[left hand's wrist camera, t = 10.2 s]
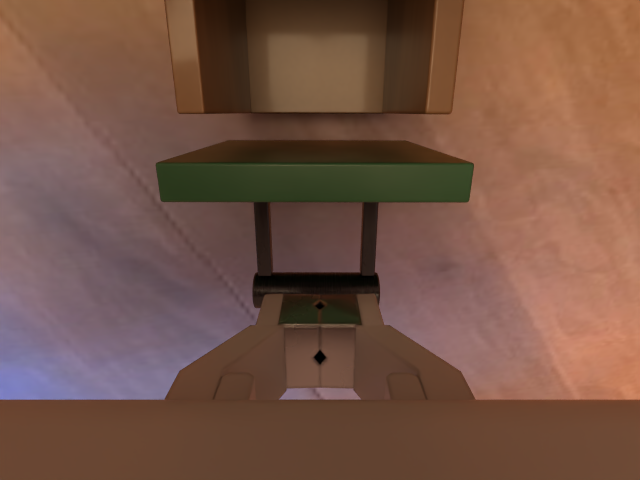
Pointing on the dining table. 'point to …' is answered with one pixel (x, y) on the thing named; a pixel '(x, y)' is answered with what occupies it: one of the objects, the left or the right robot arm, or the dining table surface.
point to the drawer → (314, 97)
